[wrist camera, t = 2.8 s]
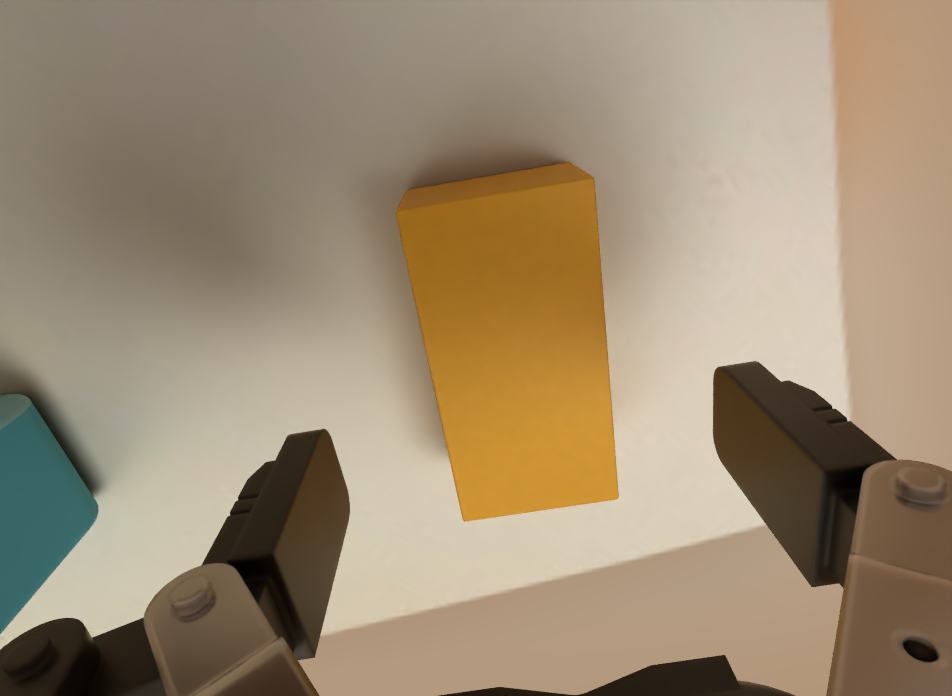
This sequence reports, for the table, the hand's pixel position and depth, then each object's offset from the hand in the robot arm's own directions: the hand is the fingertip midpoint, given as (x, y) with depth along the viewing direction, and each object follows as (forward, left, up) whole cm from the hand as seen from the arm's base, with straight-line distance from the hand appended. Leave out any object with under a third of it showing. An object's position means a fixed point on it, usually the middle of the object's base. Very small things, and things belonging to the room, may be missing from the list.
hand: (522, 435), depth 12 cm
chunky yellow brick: (0, 0, -6) cm, 6 cm away
